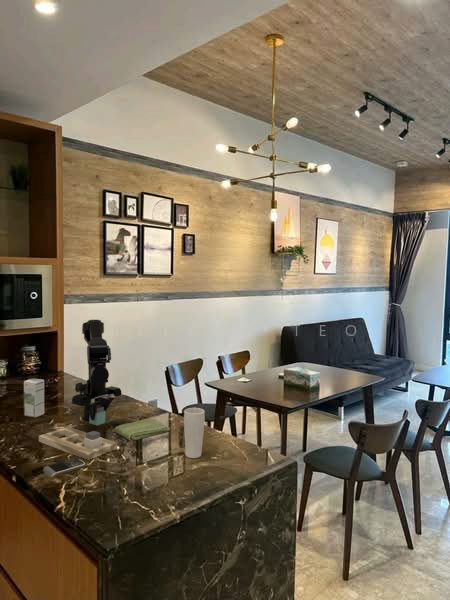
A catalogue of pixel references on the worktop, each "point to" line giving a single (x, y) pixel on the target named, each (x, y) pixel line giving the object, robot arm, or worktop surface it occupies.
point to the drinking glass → (193, 431)
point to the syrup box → (33, 397)
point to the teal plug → (98, 416)
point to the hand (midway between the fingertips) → (97, 418)
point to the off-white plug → (92, 440)
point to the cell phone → (63, 467)
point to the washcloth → (141, 429)
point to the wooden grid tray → (75, 449)
